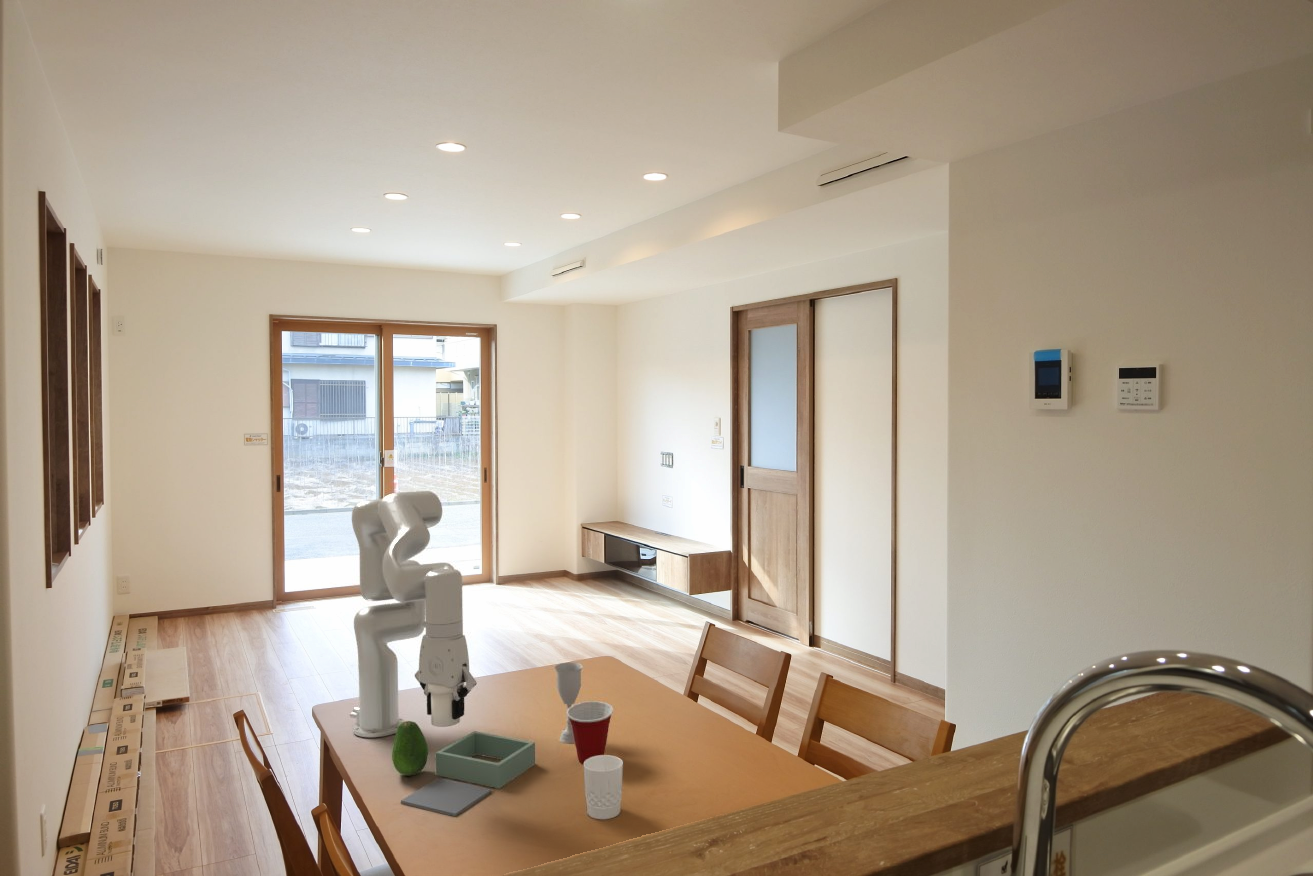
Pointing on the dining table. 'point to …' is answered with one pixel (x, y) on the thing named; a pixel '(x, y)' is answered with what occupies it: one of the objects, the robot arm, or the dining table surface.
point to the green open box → (462, 767)
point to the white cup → (603, 786)
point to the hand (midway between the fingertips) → (445, 714)
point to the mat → (446, 796)
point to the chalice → (568, 691)
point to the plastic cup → (590, 727)
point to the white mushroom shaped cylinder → (442, 705)
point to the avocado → (409, 749)
